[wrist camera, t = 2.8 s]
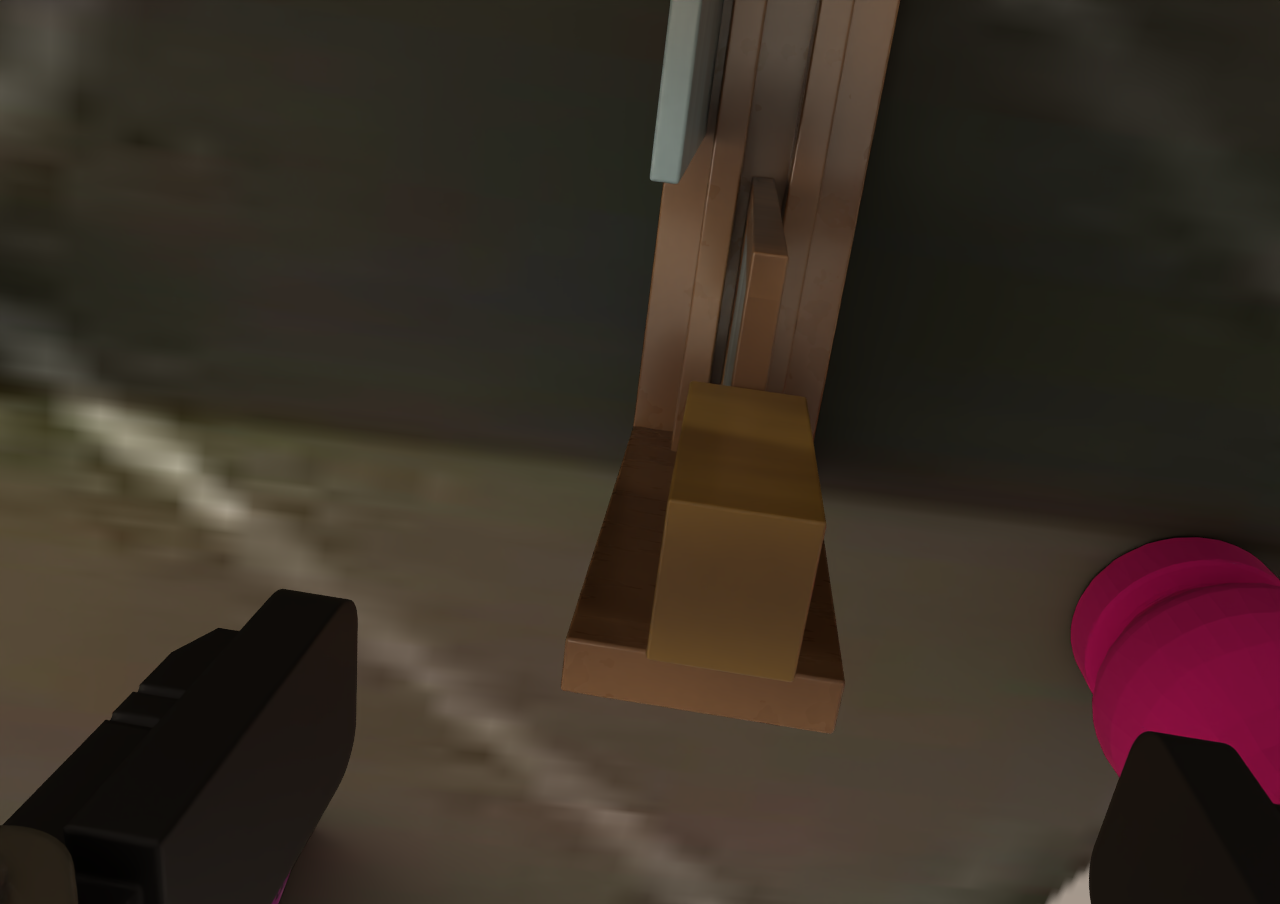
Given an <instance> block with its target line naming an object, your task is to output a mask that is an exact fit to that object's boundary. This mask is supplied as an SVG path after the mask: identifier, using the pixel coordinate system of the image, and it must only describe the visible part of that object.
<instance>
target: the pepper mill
mask: <svg viewBox="0 0 1280 904" xmlns="http://www.w3.org/2000/svg"><path fill="white" fill-rule="evenodd" d="M1071 645H1072V649H1073V654H1074V657H1075V661H1076V663H1077V665H1078V667H1079V669H1080V671H1081V673H1082V675H1083V677H1084V679H1085V680H1086V682H1087V684H1088V686H1089V688H1090V690H1091V692H1092V694H1093V698H1092V707H1093V722H1094V726H1095V731H1096V735H1097V738H1098V740H1099V743H1100V745H1101V748H1102V750H1103V752H1104V755H1105V757H1106V758H1107V760H1108V761H1109V763H1110V764H1111V766H1112V767H1113V769H1114V770H1115V772H1116V773H1117V775H1118V776H1119V778H1120V775H1121V772H1122V770H1123V767H1124V764H1125V762H1126V759H1127V756H1128V754H1129V751H1130V749H1131V746H1132V744H1133V743H1134V741H1135V739H1136V738H1137V737H1138V736H1139V735H1140V734H1142V733H1143V732H1146V731H1153V732H1159V733H1165V734H1171V735H1178V736H1184V737H1190V738H1196V739H1202V740H1209V741H1215V742H1221V743H1226V744H1228V745H1230V746H1231V747H1233V748H1234V749H1235V750H1236V751H1237V752H1238V754H1239V755H1240V756H1241V758H1242V759H1243V761H1244V762H1245V764H1246V765H1247V766H1248V768H1249V769H1250V771H1251V772H1252V774H1253V775H1254V777H1255V778H1256V779H1257V781H1258V782H1259V784H1260V785H1261V787H1262V788H1263V790H1264V791H1265V792H1266V794H1267V795H1268V797H1269V798H1270V800H1271V801H1272V803H1274V804H1280V580H1279V579H1278V578H1277V577H1276V576H1275V575H1274V574H1273V573H1272V572H1271V571H1270V570H1269V569H1268V568H1267V567H1266V566H1265V565H1264V564H1263V563H1262V562H1261V561H1260V560H1259V559H1257V558H1256V557H1255V556H1253V555H1252V554H1251V553H1249V552H1247V551H1245V550H1243V549H1241V548H1239V547H1237V546H1235V545H1232V544H1229V543H1226V542H1223V541H1220V540H1214V539H1207V538H1200V537H1188V538H1172V539H1166V540H1161V541H1156V542H1152V543H1148V544H1145V545H1143V546H1141V547H1139V548H1137V549H1135V550H1132V551H1130V552H1128V553H1126V554H1124V555H1122V556H1121V557H1119V558H1117V559H1115V560H1114V561H1113V562H1112V563H1111V564H1109V565H1108V566H1107V567H1106V568H1105V569H1104V570H1103V571H1102V572H1100V573H1099V574H1098V575H1097V576H1096V577H1095V578H1094V579H1093V580H1092V582H1091V583H1090V584H1089V586H1088V587H1087V589H1086V590H1085V592H1084V593H1083V594H1082V596H1081V598H1080V599H1079V602H1078V604H1077V606H1076V609H1075V612H1074V615H1073V620H1072V625H1071Z"/></svg>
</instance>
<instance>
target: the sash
mask: <svg viewBox="0 0 1280 904" xmlns="http://www.w3.org/2000/svg"><path fill="white" fill-rule="evenodd" d="M788 261H789V257H788V251H787V246H786V240H785V235H784V229H783V223H782V218H781V212H780V207H779V201H778V195H777V190H776V184H775V180H774V179H769V178H762V177H753V178H752V182H751V189H750V195H749V201H748V208H747V214H746V221H745V227H744V234H743V240H742V247H741V253H740V260H739V266H738V272H737V279H736V285H735V292H734V298H733V305H732V311H731V318H730V324H729V331H728V337H727V343H726V350H725V356H724V363H723V369H722V376H721V382H720V385H718V384H711V383H704V382H697V381H691V382H690V385H689V390H688V396H687V401H686V406H685V412H684V417H683V422H682V427H681V433H680V438H679V443H678V449H677V454H676V459H675V464H674V470H673V475H672V480H671V486H670V491H669V496H668V502H667V509H666V516H665V523H664V530H663V537H662V544H661V551H660V558H659V566H658V573H657V580H656V587H655V594H654V601H653V608H652V615H651V622H650V629H649V637H648V644H647V651H646V657H647V659H649V660H654V661H660V662H666V663H672V664H679V665H685V666H691V667H698V668H704V669H710V670H716V671H723V672H729V673H735V674H742V675H748V676H754V677H760V678H767V679H773V680H779V681H786V682H792V681H793V680H794V678H795V674H796V669H797V664H798V659H799V654H800V650H801V645H802V640H803V635H804V630H805V626H806V621H807V616H808V611H809V606H810V602H811V597H812V592H813V587H814V582H815V578H816V573H817V568H818V563H819V558H820V554H821V549H822V544H823V539H824V534H825V530H826V520H825V513H824V507H823V500H822V494H821V488H820V481H819V475H818V469H817V462H816V456H815V450H814V443H813V437H812V430H811V424H810V418H809V411H808V405H807V399H806V398H805V397H801V396H794V395H787V394H780V393H773V392H766V387H767V382H768V376H769V370H770V364H771V359H772V353H773V347H774V341H775V336H776V330H777V324H778V318H779V313H780V307H781V301H782V295H783V289H784V284H785V278H786V272H787V266H788Z"/></svg>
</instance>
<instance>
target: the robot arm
mask: <svg viewBox="0 0 1280 904" xmlns="http://www.w3.org/2000/svg"><path fill="white" fill-rule="evenodd" d="M357 632H358V618H357V610H356V606H355V604H354V602H353V601H352V600H348V599H342V598H336V597H330V596H324V595H317V594H311V593H305V592H299V591H293V590H286V589H280V590H278V591H276V592H275V593H274V594H273V595H272V596H271V597H270V598H269V599H268V600H267V601H266V602H265V603H264V605H263V606H262V607H261V608H260V609H259V610H258V611H257V612H256V613H255V615H254V616H253V617H252V618H251V619H250V620H249V621H248V622H247V623H246V625H245V626H244V627H243V628H242V629H241V630H240V631H234V630H228V629H222V628H217V629H215V630H213V631H212V632H210V633H208V634H206V635H204V636H202V637H200V638H198V639H196V640H194V641H193V642H191V643H189V644H187V645H185V646H183V647H181V648H179V649H177V650H175V651H173V652H172V653H171V654H170V655H169V656H168V657H167V658H166V659H165V660H164V661H163V662H162V663H161V664H160V665H159V666H158V667H157V668H156V669H155V670H154V671H153V672H152V673H151V674H150V675H149V676H148V677H147V678H146V679H145V680H144V681H143V682H142V683H141V684H140V687H139V690H138V692H132V693H131V694H130V695H129V696H128V698H127V699H126V700H125V701H124V702H123V703H122V704H121V705H120V706H119V707H118V708H117V709H116V710H115V711H114V712H113V715H112V718H111V720H110V721H109V720H105V721H104V722H103V723H102V724H101V725H100V726H99V727H98V728H97V729H96V730H95V731H94V732H93V733H92V734H91V735H90V736H89V737H88V738H87V739H86V740H85V741H84V742H83V743H82V745H81V746H80V747H79V748H78V749H77V750H76V751H75V752H74V753H73V754H72V755H71V756H70V757H69V758H68V759H67V760H66V761H65V762H64V763H63V764H62V765H61V766H60V767H59V768H58V769H57V770H56V771H55V772H54V773H53V774H52V775H51V776H50V777H49V778H48V779H47V780H46V781H45V782H44V783H43V784H42V785H41V786H40V787H39V788H38V789H37V790H36V792H35V793H34V794H33V795H32V796H31V797H30V798H29V799H28V800H27V801H26V802H25V803H24V804H23V805H22V806H21V807H20V808H19V809H18V810H17V811H16V812H15V813H14V814H13V815H12V816H11V817H10V818H9V819H8V820H7V821H6V822H5V823H4V824H3V825H0V904H272V902H273V900H274V899H275V897H276V895H277V893H278V892H279V890H280V888H281V886H282V885H283V883H284V881H285V879H286V878H287V876H288V874H289V872H290V871H291V869H292V867H293V865H294V864H295V862H296V860H297V858H298V857H299V855H300V853H301V851H302V850H303V848H304V846H305V844H306V843H307V841H308V839H309V837H310V836H311V834H312V832H313V830H314V829H315V827H316V825H317V823H318V822H319V820H320V818H321V816H322V815H323V813H324V811H325V809H326V808H327V806H328V804H329V802H330V801H331V799H332V797H333V795H334V794H335V792H336V790H337V788H338V786H339V784H340V783H341V780H342V778H343V776H344V773H345V771H346V768H347V765H348V762H349V759H350V755H351V751H352V747H353V742H354V736H355V728H356V692H357ZM1089 890H1090V900H1091V904H1280V804H1274V803H1272V801H1271V800H1270V798H1269V797H1268V795H1267V794H1266V792H1265V791H1264V790H1263V788H1262V787H1261V785H1260V784H1259V782H1258V781H1257V779H1256V778H1255V777H1254V775H1253V774H1252V772H1251V771H1250V769H1249V768H1248V766H1247V765H1246V764H1245V762H1244V761H1243V759H1242V758H1241V756H1240V755H1239V754H1238V752H1237V751H1236V750H1235V749H1234V748H1233V747H1231V746H1230V745H1228V744H1226V743H1221V742H1215V741H1209V740H1202V739H1196V738H1190V737H1184V736H1178V735H1171V734H1165V733H1159V732H1153V731H1146V732H1143V733H1142V734H1140V735H1139V736H1138V737H1137V738H1136V739H1135V741H1134V743H1133V744H1132V746H1131V749H1130V751H1129V754H1128V756H1127V759H1126V762H1125V764H1124V767H1123V770H1122V772H1121V775H1120V778H1119V781H1118V783H1117V786H1116V789H1115V791H1114V794H1113V797H1112V800H1111V802H1110V805H1109V808H1108V810H1107V813H1106V816H1105V819H1104V821H1103V824H1102V827H1101V829H1100V832H1099V835H1098V838H1097V840H1096V843H1095V846H1094V849H1093V852H1092V857H1091V862H1090V870H1089Z"/></svg>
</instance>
